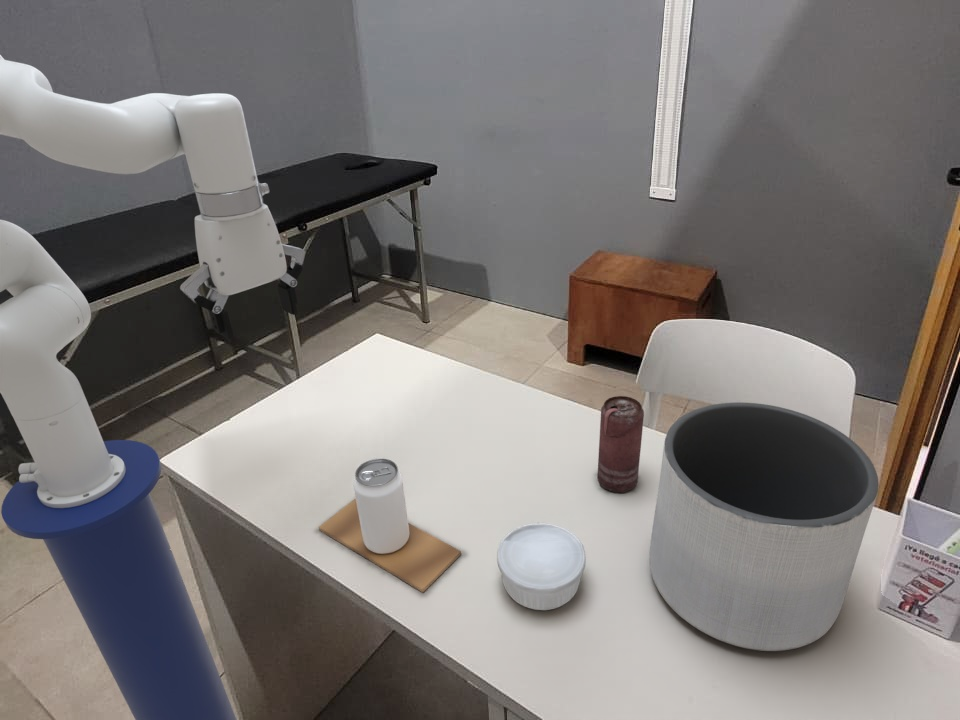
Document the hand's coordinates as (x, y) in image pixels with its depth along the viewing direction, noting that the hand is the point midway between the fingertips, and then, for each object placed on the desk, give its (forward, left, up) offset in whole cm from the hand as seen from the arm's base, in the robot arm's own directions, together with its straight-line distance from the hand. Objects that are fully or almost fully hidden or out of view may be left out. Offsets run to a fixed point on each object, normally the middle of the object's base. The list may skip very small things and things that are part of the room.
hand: (259, 323), depth 89 cm
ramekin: (+35, -25, -28) cm, 52 cm away
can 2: (+50, -7, -28) cm, 58 cm away
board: (+15, -15, -28) cm, 35 cm away
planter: (+60, -28, -28) cm, 72 cm away
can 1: (+15, -15, -28) cm, 35 cm away
